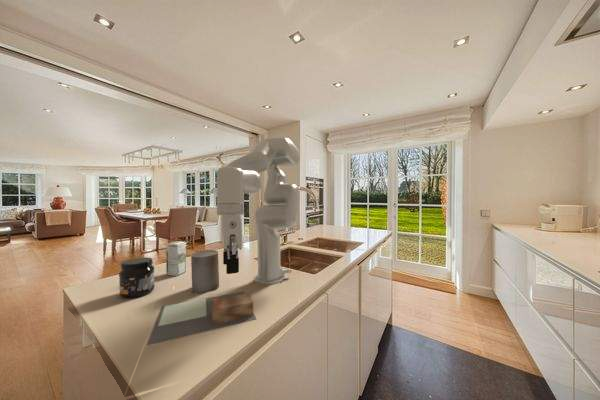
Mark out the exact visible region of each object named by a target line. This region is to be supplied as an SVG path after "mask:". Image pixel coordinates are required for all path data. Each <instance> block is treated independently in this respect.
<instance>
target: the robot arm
mask: <svg viewBox="0 0 600 400" xmlns="http://www.w3.org/2000/svg"><path fill="white" fill-rule="evenodd" d="M300 157H301V155H300V151H299V149H298V147H297V146H296V145H295V144H294V143H293V141H292V140H291V139H290V138H287V137H284V136H281V137H270V138H264V139H262V140H260V141H259V142H258V143H257V145H256V146H255V147H254V148H253V149H252V150H251V152H249V153H247V154H245V155H243V156H241V157H238V158H237V159H234V160H233V161H231V162H229V163H227V165H226V166H222V167H218V169H217V171H216V216H220V217H221V218H220V220H221V221H220V226H221V229H220V231H221V233H220V235H221V245H222V248H223V251H222V256H223V257H222V258H223V260H222V261H223V262H222V263H223V265H225V267H226V270H225V271H226V274H227V275H231V274H238V273H239V271H240V261H239V259H240V257H239V250H242V249H243V226H242V225H243V224H242V217H241V216H243V215H244V212H245V207H244V202H245V199H244V198H245V197H244V196H245V195H244V194H255V193H257V192H259V190H261V188H262V185H263V180H262V177H261V175H260V174H261V173H262V172H265V171H266V173H267V181H266V185H265V187H264V188H265V189H264V192H263V201H264V203H266V204H265V205H260V206H258V207H257V208H256V210H255V213H254V220H255V224H256V232H257V233H256V234H257V274H256V275H255V276H254V280H253V281H254V282H255V283H256V284H260V285H269V286H270V285H275V284H279V283H282V282H283V281H284V280H285V274H292V268H287V267H281V237H280V234H279V232H278V231H277V229H291V228H293V227H295V225H296V223H297V217H298V211H299V205H300V197H301V196H300V189H299V186H297V185H296V184H294V183H287V176H286V174H285V173H284V171H283V170H282V169H280V167H286V166H287V167H289V166H290V167H291V166H296V165H298V164H299V162H300V159H301V158H300Z"/></svg>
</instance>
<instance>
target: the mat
mask: <svg viewBox="0 0 600 400" xmlns="http://www.w3.org/2000/svg"><path fill="white" fill-rule="evenodd" d="M242 294H246V292H245V291H239V292H235V293H229V294H228V293H227V294H224V295H223V294H222V295H217V296H213V297H212V296H211V297H207V298H201V299H195V300H190V301H183V302H179V303H174V304H168V305H167V304H166V305H162V306H161V307H160V310H159V313H158V315H157V317H156V321H155V324H154V326H153V328H152V331H151V334H150V337H149V339H148V341H147V344H146V345H147V346H149V345H150V346H151V345H153V344H157V343H161V342H166V341H171V340H174V339H178V338H179V339H180V338H183V337H187V336H191V335H195V334H200V333H205V332H209V331H214V330H218V329H221V328H225V327H230V326H233V325H238V324H239V325H240V324H242V323H246V322H250V321H255V320H257V318H256V315H255V312H254V311H253V316H249V317H245V318H240V319H236V320H232V321H227V322H223V323H218V324H214V325H213V322H212V300H213V299H218V298H225V297H231V296H236V295H242Z"/></svg>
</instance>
